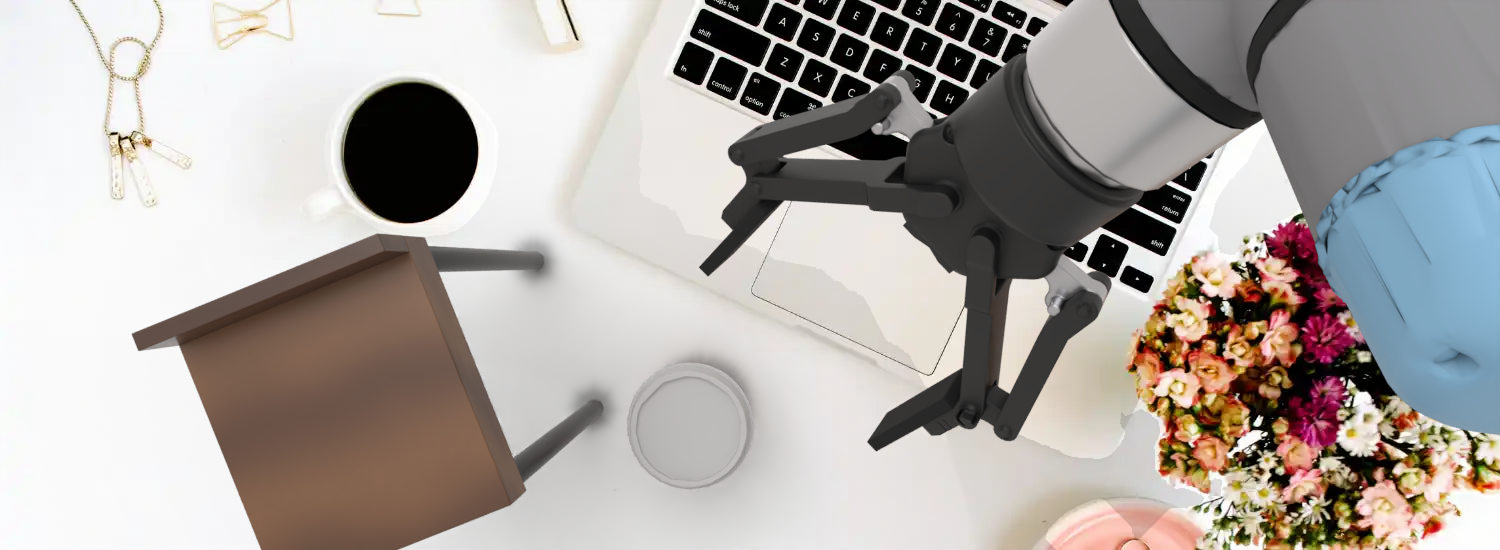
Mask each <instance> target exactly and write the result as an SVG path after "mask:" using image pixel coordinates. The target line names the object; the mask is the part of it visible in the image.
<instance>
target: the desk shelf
mask: <svg viewBox="0 0 1500 550" xmlns="http://www.w3.org/2000/svg"><path fill="white" fill-rule="evenodd" d="M429 246H430V245H429V244H428V242H427V239H426V237H425V236H414V235H402V234H390V233H378V232H377V233H375V234H373V235H370V236H367V237H365V238H363V239H360V240H358V241H355V242H352V243H350V244H348V245H345V246H343V247H339V248H338V249H336V250H333V251H331V252H328V253H326V254H323V255H321V256H318V257H316V258H313V259H311V260H308V261H306V262H303V263H301V264H299V265H296V266H294V267H291V268H289V269H287V270H284V271H281V272H279V273H276V274H274V275H272V276H269V277H266V278H265V279H262V280H260V281H257V282H255V283H251V284H250V285H247V286H245V287H243V288H240V289H238V290H234V291H233V292H230V293H228V294H225V295H223V296H220V297H218V298H215V299H213V300H210V301H207V302H206V303H203V304H200V305H198V306H195V307H194V308H191V309H188V310H186V311H183V312H181V313H179V314H175V315H174V316H171V317H169V318H167V319H164V320H161V321H159V322H156V323H154V324H152V325H149V326H147V327H144V328H142V329H140V330H137V331H135V332H132V333H131V336H132V339H133V342H134V345H135V346H136V349H137V351H138V352H143V351H144V352H145V351H150V350H151V351H152V350H157V349H165V348H171V347H179V350H180V353H181V354H182V357H183V359H184V361H185V364H186V367H187V369H188V372H189V375H190V377H191V379H192V382H193V385H194V387H195V389H196V391H197V394H198V397H199V399H200V402H201V404H202V406H203V409H204V411H205V414H206V416H207V420H208V421H209V424H210V426H211V429H212V432H213V434H214V436H215V439H216V441H217V444H218V446H219V448H220V452H221V454H222V457H223V459H224V461H225V464H226V466H227V469H228V471H229V474H230V476H231V479H232V481H233V483H234V486H235V489H236V492H237V494H238V497H239V499H240V501H241V503H242V506H243V509H244V511H245V514H246V516H247V518H248V521H249V523H250V526H251V529H252V531H253V533H254V536H255V539H256V542H257V544H258V546H259V548H260V550H401V549H404V548H406V547H409V546H412V545H414V544H417V543H419V542H421V541H424V540H426V539H429V538H431V537H434V536H437V535H439V534H442V533H445V532H447V531H450V530H452V529H454V528H457V527H459V526H463V525H465V524H467V523H469V522H472V521H475V520H477V519H480V518H482V517H485V516H487V515H490V514H492V513H495V512H497V511H500V510H502V509H505V508H508V507H510V506H511V505H513V504H514V503H515V502H516V501H517V500H518V499H519V498H520V497H521V496H523V495H524V494H525V493H526V492H527V488H526V486H525V482H524V483H523V480H522V478H521V475H520V473H519V470H518V468H517V465H516V463H515V460H514V455H513V453H512V451H511V448H510V446H509V443H508V441H507V438H506V435H505V433H504V430H503V428H502V425H501V423H500V421H499V417H498V416H497V413H496V411H495V408H494V406H493V403H492V401H491V398H490V396H489V394H488V390H487V389H486V386H485V383H484V381H483V378H482V376H481V373H480V371H479V369H478V366H477V364H476V361H475V359H474V355H473V354H472V351H471V349H470V346H469V343H468V342H467V339H466V337H465V333H464V331H463V328H462V326H461V324H460V321H459V319H458V316H457V314H456V311H455V309H454V306H453V304H452V302H451V299H450V296H449V294H448V291H447V289H446V286H445V284H444V282H443V279H442V276H441V274H440V272H439V271H438V269H437V266H436V264H435V261H434V259H433V256H432V254H431V251H430V249H429Z"/></svg>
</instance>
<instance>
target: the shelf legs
mask: <svg viewBox="0 0 1500 550" xmlns="http://www.w3.org/2000/svg"><path fill="white" fill-rule="evenodd" d="M428 246H429V249H430V251H431V254H432V256H433V259H434V261H435V264H436V266H437V269H438V271H439V273H456V272H457V273H458V272H459V273H461V272H494V271H495V272H496V271H497V272H498V271H499V272H501V271H503V272H504V271H536V270H540V269H541V268H542V267H543V266H544V264H545V258H544V256H543V254H542V253H540V252H539V251H535V250H533V251H532V250H517V249H516V250H514V249H513V250H512V249H495V248H477V247H476V248H475V247H474V248H473V247H459V246H458V247H457V246H456V247H455V246H436V245H428ZM603 413H604V405H603V403H602V402H601V400H598V399H591V400H588V401H587V402H586V403H585V404H583V405H582V406H581V407H579V408H578V409H577V410H575V411H574V412H573V413H571V414H570V415H569V416H567V417H566V418H564V419H563V420H562V421H560V422H559V423H558V424H557V425H555V426H554V427H552V428H551V429H550V430H549V431H547V432H546V433H545V434H543V435H542V436H541V437H539V438H538V439H536V440H535V441H534V442H532V443H530V445H529V446H527V447H526V448H524V449H523V450H521V451H520V452H519V453H518V454H516V455H515V456H513V458H514V460H515V463H516V465H517V468H518V470H519V473H520V475H521V478H522V480H523V483H524V484H525V482H527V481H528V480H529V479H531V477H532V476H534V475H535V474H536V473H538V471H539V470H540V469H541V468H543V467H544V466H545V465H546V464H548V462H549V461H550V460H552V459H553V458H554V457H555V456H556V455H557V454H558V453H559V452H561V451H562V450H563V449H564V448H566V446H568V445H569V444H570V443H571V442H573V440H575V439H576V438H577V437H578V436H579V435H580V434H581V433H582V432H583V431H584V430H586V429H587V428H588V427H589V426H590V425H592V423H594V422H595V421H596V420H597V419H598V418H599V417H601V416H602V414H603Z"/></svg>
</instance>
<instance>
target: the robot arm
mask: <svg viewBox="0 0 1500 550" xmlns="http://www.w3.org/2000/svg"><path fill="white" fill-rule="evenodd" d="M1026 50H1027V51H1026V52H1023V53H1019V54H1017V55H1014V56H1013V57H1012V58H1010V59H1009V60H1008V61H1007V62H1006V63H1005V64H1004V65H1003V66H1002V67H1001V68H999V70H997V72H995V73H994V74H993V75H992V76H991V77H990V78H989V79H988V80H987V81H985V83H983V84H982V85H981V86H980V87H979V88H978V89H977V90H976V91H975V92H974V93H973V94H972V95H970V97H968V98H967V99H966V100H965V101H964V102H963V103H962V104H961V105H960V106H958V107H957V108H956V109H955V110H954V111H953V112H952V113H950V114H949V115H945V116H944V117H940V118H935V119H933V118H932V117H931V115H930V114H929V112H928V111H927V110H926V109H925V108H924V106H923V105H922V104H921V103H920V101H919V100H918V99H917V98H916V96H915V94H913V93H914V91H915V90H916V87H917V81H916V78H915V76H914V74H912V72H910V71H909V70H906V69H899V70H897V71H895V72H894V73H892V74H891V75H890V76H889V77H888V78H886V79H885V80H884V81H883V82H882V83H880V84H879V85H877V86H876V87H875V88H874V89H873V90H871V91H870V92H867V93H864V94H862V95H858V96H855V97H850V98H848V99H844V100H840V101H838V102H834V103H831V104H827V105H824V106H821V107H816V108H814V109H810V110H807V111H803V112H800V113H797V114H793V115H790V116H786V117H783V118H779V119H776V120H773V121H769V122H767V123H763V124H759V125H757V126H755V127H754V128H752V129H751V130H749V131H748V132H747V133H745V134H744V135H742V136H741V137H740V138H739V139H737V140H736V141H735V142H733V143H732V144H730V145H729V146H728V149H727V156H728V159H729V161H730V162H731V163H732V164H733V165H735V166H737V167H741V168H742V170H743V172H744V174H745V183H744V185H743V187H742V188H741V189H740V190H739V191H738V192H737V193H736V194H735V196H734V197H733V198H732V199H731V201H729V203H728V204H727V205H726V206H725V207H724V209H723V210H722V212H721V217H720V219H721V220H722V222H724V223H725V224H726V225H727V227H728V228H730V229H731V231H730V232H729V234H727V236H725V238H724V239H723V240H722V241H721V242H720V243H719V244H718V245H717V246H716V248H715V249H714V250H713V251H712V252H711V253H710V254H709V255H708V257H707V258H706V259H705V260H703V262H702V263H701V264H700V265H699V267H698V269H700V271H701V272H703V274H705V276H706V277H710V276H711V275H712V274H713V273H714V272H716V270H718V269H719V268H720V267H721V266H722V265H723V264H724V263H726V262H727V260H729V259H730V258H731V257H732V256H733V255H734V254H735V253H736V252H737V251H738V250H739V249H740V248H741V247H742V246H743V245H744V244H745V243H746V242H747V241H748V240H749V238H751V237H752V235H754V233H756V231H757V230H758V229H759V228H760V227H761V226H762V225H763V224H764V223H765V222H766V221H767V220H768V219H769V218H770V217H771V216H772V215H773V214H774V212H775V211H776V210H777V209H778V208H780V206H781V205H782V204H783V203H784V202H798V203H799V202H800V203H816V204H817V203H818V204H833V205H834V204H835V205H848V206H849V205H850V206H851V205H852V206H864V207H865V206H866V207H868V209H869V211H871V212H881V213H882V212H883V213H896V214H897V213H898V214H902V217H903V219H904V221H905V223H904V224H903V225H902V226H903V227H904V229H905V230H907V232H908V233H909V234H910V235H911V236H912V237H913V238H914V239H916V240H917V241H919V242H920V243H921V244H923V245H925V246H926V247H927V248H928V249H929V250H930V251H931V254H932V255H933V256H934V258H935V260H936V261H937V263H938V264H939V265H940V266H941V267H942V268H943V269H944V270H945V271H946V272H947V273H948V274H952V273H953V272H954V273H956V274H958V275H960V276H964V277H965V290H964V291H965V292H964V308H965V309H966V320H965V321H966V322H965V333H964V343H963V345H964V346H963V357H962V367H961V368H959V369H958V370H956V371H954V372H951V374H949V375H947V376H946V377H943V379H941V380H939V381H937V382H936V383H934V384H932V385H931V386H929V387H927V388H926V389H924V390H922V391H921V392H919V393H917V394H915V395H914V396H912V397H911V398H908V399H907V400H905V401H904V402H902V403H900V404H898V405H897V406H896V407H893V408H892V409H890V410H888V411H887V412H886V413H885V415H884V416H883V417H882V419H881V421H880V422H879V423H878V424H877V426H876V428H875V429H874V431H873V432H872V434H871V435H870V437H869V438H868V439H867V441H866V443H867V444H868V445H869V446H870V447H871V448H872V449H873V450H874V451H875V452H878V451H881V450H882V449H883V448H885V447H887V446H889V445H891V444H893V443H895V442H896V441H898V440H901V439H902V438H904V437H906V436H908V435H909V434H911V433H913V432H914V431H916V430H918V429H920V428H923V429H924V430H925V431H926V432H927V433H928V435H930V436H931V437H936V436H937V437H938V436H942V435H943V434H946V433H947V432H949V431H951V430H952V429H955V428H957V427H960V428H962V429H964V430H974V429H976V428H977V426H978V425H979V423H980V421H984V422H986V423H987V424H989V425H990V426H992V427H993V428H992V430H993V433H994V435H995V436H996V437H997V438H998V439H1000V440H1002V441H1004V442H1013V441H1015V440H1016V439H1017V438H1018V436H1019V434H1020V433H1021V430H1022V428H1023V426H1024V425H1025V423H1026V421H1027V419H1028V417H1029V415H1030V413H1031V411H1032V409H1033V407H1034V405H1035V404H1036V402H1037V400H1038V398H1039V396H1040V394H1041V392H1042V391H1043V389H1044V386H1045V385H1046V383H1047V381H1048V379H1049V377H1050V375H1051V374H1052V372H1053V370H1054V368H1055V366H1056V364H1057V362H1058V361H1059V359H1060V357H1061V354H1062V353H1063V351H1064V349H1065V347H1066V346H1067V343H1068V341H1069V340H1070V339H1071V338H1073V337H1074V336H1077V334H1079V333H1080V332H1081V331H1083V330H1084V329H1085V328H1086V327H1089V325H1090V324H1092V323H1094V321H1096V320H1097V318H1098V317H1099V315H1100V313H1101V310H1102V309H1103V306H1104V304H1105V302H1106V300H1107V297H1108V296H1109V294H1110V291H1111V289H1112V285H1113V282H1112V279H1111V278H1110V276H1109V275H1108V274H1106V273H1104V272H1103V271H1099V270H1093V271H1092V270H1091V271H1090V272H1087V273H1086V272H1085V270H1083V269H1082V268H1080V266H1079V265H1077V264H1076V263H1075V262H1073V261H1072V260H1071V259H1070V258H1069V257H1067V256H1066V255H1065V252H1066V251H1067V249H1069V248H1070V247H1072V246H1074V245H1076V244H1077V243H1079V242H1080V241H1082V240H1083V239H1085V238H1086V237H1087V236H1089V235H1091V234H1092V233H1094V232H1095V231H1096V230H1098V229H1100V228H1101V227H1103V226H1104V225H1105V224H1107V223H1109V222H1110V221H1112V220H1114V219H1115V218H1116V217H1118V216H1119V215H1121V214H1123V213H1124V212H1125V211H1127V210H1128V209H1130V208H1131V207H1133V206H1134V205H1136V204H1137V203H1138V202H1140V200H1141V199H1142V197H1143V195H1144V193H1145V192H1147V191H1148V192H1149V191H1154V190H1159V189H1160V188H1162V187H1164V186H1165V185H1166V184H1168V183H1169V182H1171V181H1173V180H1174V179H1176V178H1177V177H1179V176H1180V175H1182V174H1183V173H1184V172H1186V171H1188V170H1189V169H1191V168H1192V167H1194V166H1195V165H1196V164H1198V163H1199V162H1201V161H1202V160H1204V159H1205V158H1206V157H1208V156H1210V155H1211V154H1213V153H1214V152H1216V151H1217V150H1219V149H1220V148H1221V147H1223V146H1225V145H1226V144H1228V143H1229V142H1231V141H1232V140H1233V139H1235V138H1236V137H1238V136H1240V135H1242V133H1244V132H1245V131H1247V130H1248V129H1250V128H1252V127H1253V126H1254V125H1256V124H1258V123H1260V122H1261V121H1262V120H1263V122H1264V124H1265V126H1266V129H1267V131H1268V134H1269V136H1270V138H1271V141H1272V143H1273V146H1274V148H1275V151H1276V153H1277V155H1278V157H1279V159H1280V163H1281V165H1282V167H1283V169H1284V172H1285V174H1286V177H1287V179H1288V181H1289V183H1290V186H1291V189H1292V191H1293V194H1294V196H1295V198H1296V200H1297V202H1298V205H1299V207H1300V210H1301V212H1302V215H1303V217H1304V220H1305V222H1306V225H1307V227H1308V229H1309V232H1310V234H1311V236H1312V238H1313V241H1314V246H1315V250H1316V253H1317V264H1318V265H1319V267H1320V269H1321V270H1322V275H1324V276H1325V278H1326V280H1327V282H1328V284H1329V286H1330V289H1331V291H1332V293H1334V295H1335V296H1337V297H1338V298H1339V299H1340V300H1341V301H1342V303H1343V304H1344V303H1345V304H1346V305H1347V308H1348V310H1349V312H1350V314H1351V316H1352V318H1353V320H1354V322H1355V323H1356V325H1357V327H1358V329H1359V331H1360V333H1361V335H1362V337H1363V339H1364V341H1365V342H1366V345H1367V346H1368V348H1369V350H1370V352H1371V354H1372V356H1373V358H1374V360H1375V362H1376V363H1377V366H1378V367H1379V369H1380V371H1381V373H1382V375H1383V377H1384V379H1385V381H1386V384H1387V385H1388V386H1389V387H1390V388H1391V389H1392V391H1393V392H1394V393H1395V394H1396V395H1397V396H1398V398H1399V399H1400V400H1401V401H1402V402H1403V403H1405V404H1406V405H1407V406H1409V407H1410V408H1411V409H1413V410H1414V411H1415V412H1417V413H1419V414H1420V415H1423V416H1424V417H1426V418H1428V419H1432V420H1433V421H1436V422H1438V423H1440V424H1443V425H1445V426H1448V427H1451V428H1455V429H1459V430H1463V431H1467V432H1473V433H1479V434H1487V435H1498V436H1500V0H1073V1H1071V2H1070V3H1069V4H1068V5H1067V6H1066V7H1065V8H1064V9H1063V10H1061V12H1060V13H1058V15H1056V16H1055V17H1053V19H1052V20H1051V21H1049V23H1047V25H1046V26H1044V27H1043V28H1042V29H1041V30H1040V31H1039V32H1038V33H1036V35H1035V36H1034V37H1032V39H1031V40H1030V42H1029V43H1028V45H1027V49H1026ZM870 129H871V132H872V133H873V134H874V135H877V136H879V135H883V136H889V135H892V134H897V133H898V134H902V135H903V136H906V138H907V139H908V140H909V141H908V143H907V146H906V151H905V152H906V154H905V156H897V157H896V156H895V157H892V158H890V159H887V160H877V159H876V160H875V159H874V160H873V159H871V160H870V159H836V158H800V157H785V156H787V155H792V154H796V153H799V152H802V151H803V152H804V151H806V150H811V149H815V148H819V147H822V146H826V145H831V144H833V143H838V142H841V141H846V140H849V139H852V138H856V137H858V136H859V135H862V134H864V133H865V132H867V131H869V130H870ZM1041 279H1044V280H1045V281H1046V283H1047V285H1048V290H1047V293H1046V294H1045V296H1044V304H1045V306H1046V310H1047V313H1048V314H1049V315H1048V316H1047V319H1046V320H1045V322H1044V324H1043V326H1042V328H1041V330H1040V332H1039V333H1038V335H1037V338H1036V339H1035V341H1034V342H1033V345H1032V348H1031V349H1030V352H1029V353H1028V355H1027V358H1026V359H1025V361H1024V363H1023V365H1022V368H1021V370H1020V372H1019V373H1018V375H1017V378H1016V380H1015V382H1014V384H1013V386H1012V388H1011V390H1010V392H1008V391H1006V390H1005V389H1003V388H1001V387H1000V385H999V383H1000V375H1001V367H1002V359H1003V348H1004V339H1005V333H1006V331H1005V330H1006V322H1007V314H1008V305H1009V298H1010V297H1009V296H1010V289H1011V285H1012V282H1013V280H1029V281H1030V280H1032V281H1034V280H1041Z"/></svg>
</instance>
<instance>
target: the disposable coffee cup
mask: <svg viewBox="0 0 1500 550" xmlns="http://www.w3.org/2000/svg"><path fill="white" fill-rule="evenodd" d="M754 428H755V425H754V414H753V410H752V407H751V404H750V401H749V400H748V397H747V395H746V394H745V392H744V390H743V389H742V388H741V387H740V385H739V384H738V383H737V381H736V380H734V379H733V378H732V377H731V376H730V375H729V374H728V373H726V372H725V371H724V370H723V371H722V370H720V369H719V368H717V367H714V366H712V365H709V364H705V363H701V362H680V363H675V364H670V365H668V366H666V367H663V368H661V369H659V370H658V371H656V372H654V373H653V374H652V375H650V376H649V377H648V378H647V379H646V380H645V381H644V382H643V383H642V384H641V386H639V388H638V389H637V391H636V392H635V394H634V396H633V398H632V399H631V402H630V405H629V409H628V413H627V417H626V432H627V438H628V444H629V446H630V448H631V451H632V453H633V456H634V457H635V459H636V461H637V463H639V465H640V466H641V467H642V468H643V469H644V470H645V472H647V474H649V475H650V476H651V477H653V478H655V479H656V481H658V482H660V483H663V484H665V485H667V486H670V487H672V488H677V489H681V490H700V489H706V488H710V487H712V486H714V485H717V484H719V483H721V482H723V481H724V480H726V479H728V478H729V477H730V476H732V475H733V474H734V473H735V471H737V470H738V469H739V468H740V467H741V465H742V464H743V462H744V461H745V459H746V458H747V455H748V453H749V451H750V448H751V446H752V442H753V438H754Z"/></svg>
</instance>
